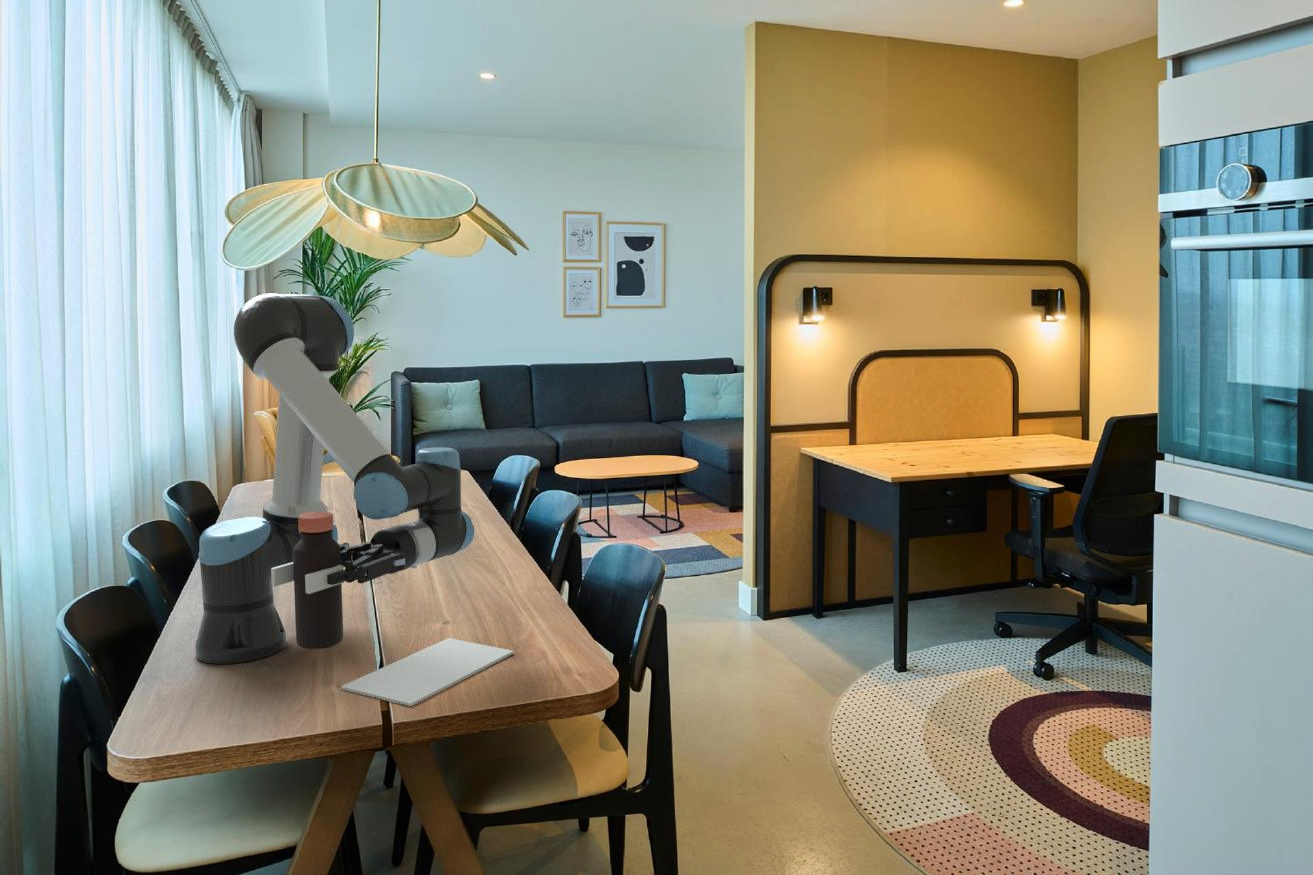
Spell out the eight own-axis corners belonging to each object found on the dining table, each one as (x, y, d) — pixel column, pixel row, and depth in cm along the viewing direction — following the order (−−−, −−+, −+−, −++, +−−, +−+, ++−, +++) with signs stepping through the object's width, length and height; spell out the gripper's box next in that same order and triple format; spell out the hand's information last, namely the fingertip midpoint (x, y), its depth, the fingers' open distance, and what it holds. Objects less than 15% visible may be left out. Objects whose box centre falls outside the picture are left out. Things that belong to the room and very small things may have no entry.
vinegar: (337, 649, 139) (333, 519, 136) (290, 650, 138) (285, 520, 136) (348, 634, 146) (344, 510, 143) (303, 634, 145) (298, 510, 142)
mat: (341, 689, 150) (341, 686, 150) (448, 640, 172) (448, 637, 172) (411, 706, 143) (410, 703, 143) (513, 653, 165) (513, 650, 165)
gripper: (446, 577, 152) (338, 616, 132) (360, 561, 161) (246, 595, 141) (445, 532, 151) (336, 565, 131) (358, 518, 160) (244, 547, 140)
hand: (290, 580), depth 136 cm, fingers closed on vinegar, 6 cm apart
